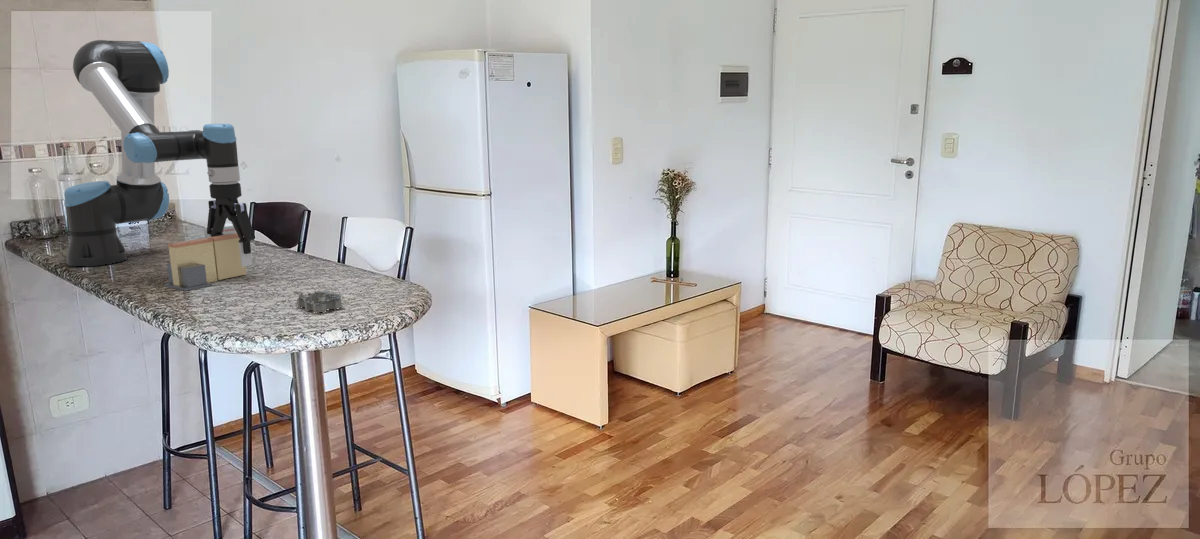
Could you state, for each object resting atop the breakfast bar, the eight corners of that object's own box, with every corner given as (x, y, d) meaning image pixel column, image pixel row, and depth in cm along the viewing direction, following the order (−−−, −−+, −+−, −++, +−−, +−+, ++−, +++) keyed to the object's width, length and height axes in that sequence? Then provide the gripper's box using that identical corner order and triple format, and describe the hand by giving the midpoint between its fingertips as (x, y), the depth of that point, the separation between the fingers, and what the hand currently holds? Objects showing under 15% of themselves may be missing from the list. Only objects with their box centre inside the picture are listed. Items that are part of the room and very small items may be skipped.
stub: (212, 278, 210) (207, 237, 208) (239, 273, 217) (235, 233, 214) (218, 280, 208) (213, 238, 206) (246, 274, 215) (242, 234, 212)
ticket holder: (164, 285, 203) (158, 242, 201) (203, 278, 212) (198, 236, 209) (185, 290, 198) (180, 246, 195) (224, 282, 206) (220, 240, 204)
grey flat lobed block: (293, 307, 183) (291, 290, 182) (323, 301, 188) (322, 285, 187) (315, 316, 175) (314, 298, 174) (346, 309, 181) (345, 292, 180)
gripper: (186, 181, 212) (196, 260, 216) (237, 186, 199) (246, 270, 204) (213, 179, 218) (221, 255, 223) (264, 183, 205) (272, 265, 210)
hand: (233, 263), depth 213 cm, fingers open, 11 cm apart
